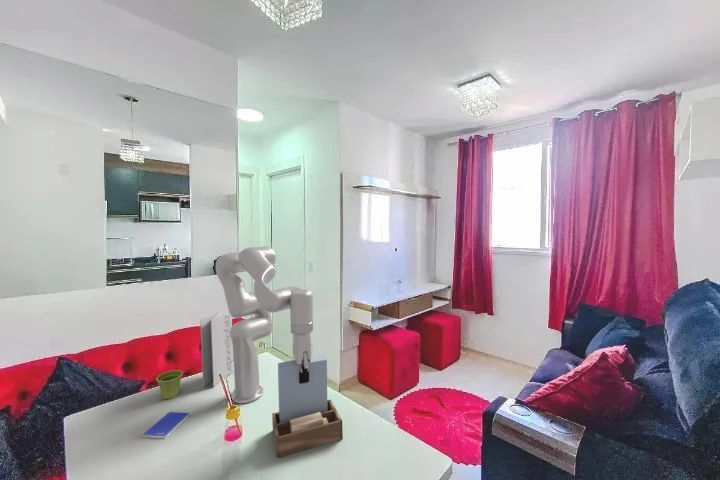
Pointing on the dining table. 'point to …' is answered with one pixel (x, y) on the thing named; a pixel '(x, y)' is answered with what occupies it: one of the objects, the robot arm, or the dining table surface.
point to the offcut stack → (307, 422)
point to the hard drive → (166, 425)
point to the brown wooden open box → (306, 433)
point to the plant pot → (170, 383)
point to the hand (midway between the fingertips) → (302, 378)
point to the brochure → (216, 347)
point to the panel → (302, 389)
